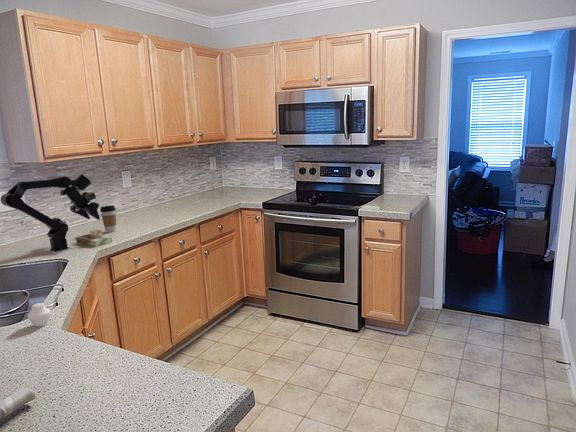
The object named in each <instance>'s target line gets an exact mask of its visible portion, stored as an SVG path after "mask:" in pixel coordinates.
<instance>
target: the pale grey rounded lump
mask: <svg viewBox="0 0 576 432" xmlns="http://www.w3.org/2000/svg"><path fill="white" fill-rule="evenodd" d="M50 316H51V309H50V308H48V307H47V306H45V304H44V303H42V302H38V303H34V304H33V305H32V306H31V308H30V311H29V312H28V314H27V319H28V320H29V321H30V323H31V324H33V325H34V327H37V328H39V327H44V326H46V325H47V324H48V323H49V320H50Z"/></svg>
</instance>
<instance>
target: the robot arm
mask: <svg viewBox="0 0 576 432" xmlns="http://www.w3.org/2000/svg"><path fill="white" fill-rule="evenodd" d="M91 184H92V182H91V180H90V178H87V177H86V176H85V175H84V174H79V175H78V176H77V177H76V178H75V179H71V178H70V177H69V176H64V175H58V176H53V177H51V178H47V179H37V180H28V181H26V180H25V181H22V180H21V181H18V182H17V183H16V184H15V185H14V186H13V187H11V188H10V189H9V190H8V191H7V192H6V193H4V194H2V195H1V196H0V203H1V204H2V205H3V206H6V207H9V208H12V209H15V210H16V211H20V212H22V213H23V214H26V215H27V216H29V217H31V218H32V219H34V220H36V221H39V222H40V223H42V224H44V225H45V226H46V227H47V228H48V229H49V230H48V232H47V233H46V235H47V237H48V238H49V242H50V243H49V244H50V248H49V251H53V252H59V251H63V250H67V249H69V248H70V247H69V246H68V241H67V238H66V237H67V233H68V231H69V225H68V224H67V221H63V220H62V219H61V218H59V217H54V216H53V218H52V217H49V216H48V215H46V214H44V213H42V212H41V211H39V210H37V209H36V208H34V207H32V206H30V205H29V204H27V203H26V202H25V201H24V200H23V199H22V198H23V196H24V194H25V192H26V191H27V190H33V189H35V190H36V189H44V188H45V189H46V188H61V189H60V193H59V195H60V196H66V197H67V198H68V199H69V200H70V201H69V202H70V204H72V205H71V206H69V211H71V212H72V213H74V214H76V215H78V216H82V217H83V218H85V219H88V220H90V219H91V217H92V218H94V219H96V220H99V221H100V220H101V217H100V214H99V212H98V209H99V206H100V204H99V203H98V202H97V201H92V200H96V199H97V196H96V194H95V192H88V191H84V190H85V189H87V188H89V187H90V185H91ZM80 191H81V192H82V193H80ZM83 191H84V192H83Z"/></svg>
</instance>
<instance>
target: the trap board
mask: <svg viewBox="0 0 576 432" xmlns="http://www.w3.org/2000/svg"><path fill="white" fill-rule="evenodd" d="M102 236H103V237H101V238H98V239H92V238H91V234H90V233H87V234H84V235H81V236H76V237H75V241H76V244H81V245H86V246H91V247H96V248H97V247H98V248H99V247H102V246H104V245H108V244H111V243H113V238H112V236H109V235H103V234H102Z"/></svg>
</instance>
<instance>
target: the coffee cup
mask: <svg viewBox="0 0 576 432" xmlns="http://www.w3.org/2000/svg"><path fill="white" fill-rule="evenodd" d="M116 210H117V209H116V206H115V205H105V206H104V205H103V206H100V209H99V212H100V215H101V219H102V224H103V226H104V230H105V233H107V234H109V233H115V232H117V214H116Z"/></svg>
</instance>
